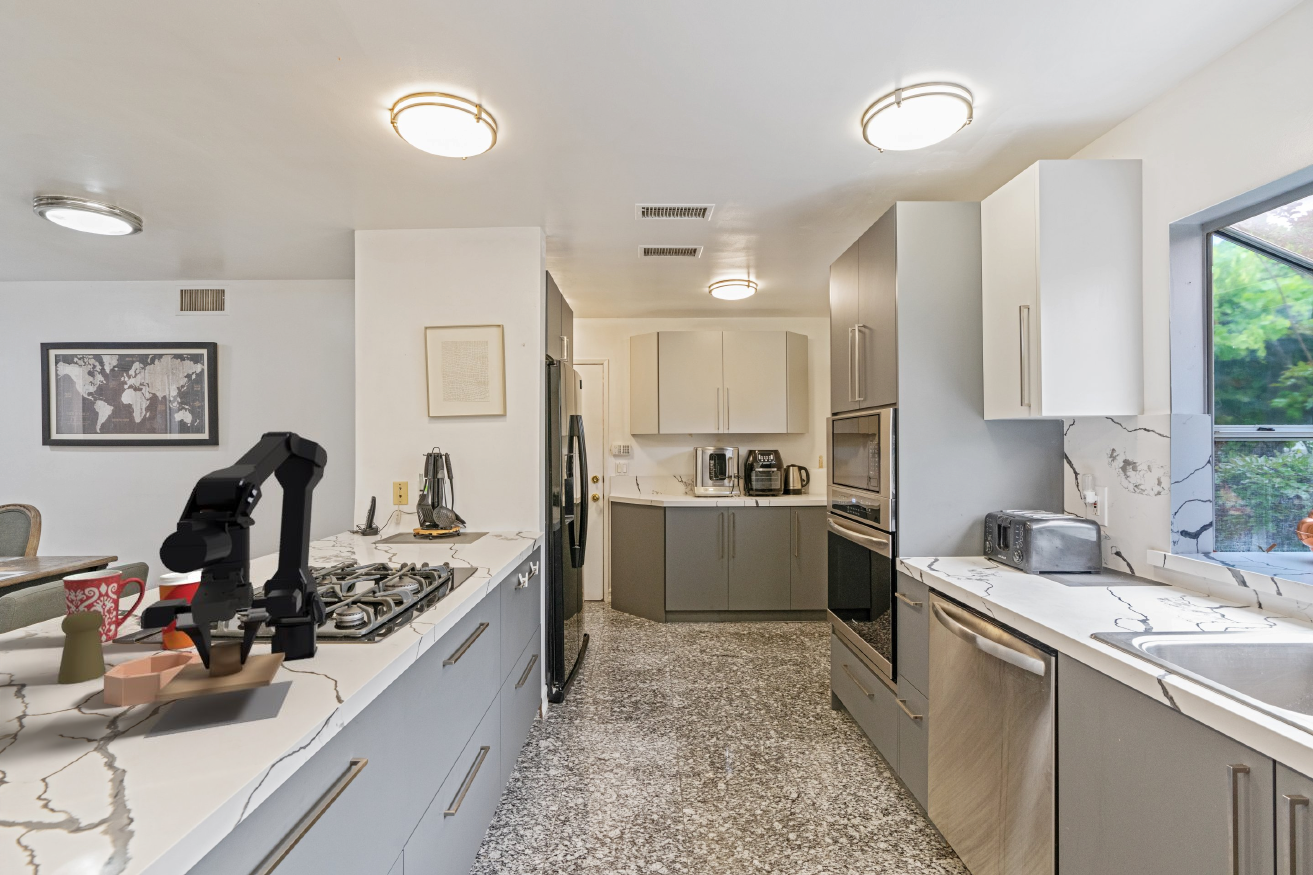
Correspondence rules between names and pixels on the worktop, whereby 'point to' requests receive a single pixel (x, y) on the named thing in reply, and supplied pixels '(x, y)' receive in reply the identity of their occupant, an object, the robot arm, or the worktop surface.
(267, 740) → the worktop surface
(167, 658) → the bowl
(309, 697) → the worktop surface
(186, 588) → the paper cup
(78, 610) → the mug
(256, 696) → the mat
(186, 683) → the lid
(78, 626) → the olive pepper mill
